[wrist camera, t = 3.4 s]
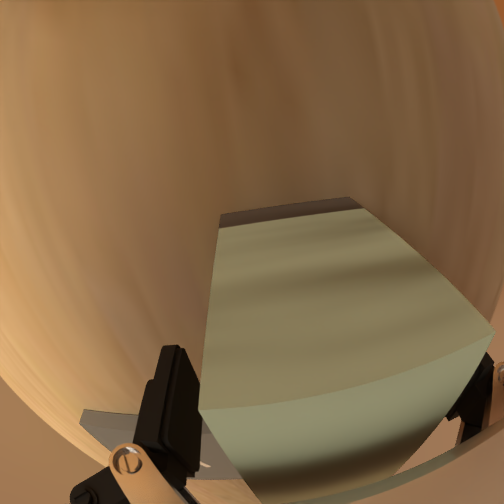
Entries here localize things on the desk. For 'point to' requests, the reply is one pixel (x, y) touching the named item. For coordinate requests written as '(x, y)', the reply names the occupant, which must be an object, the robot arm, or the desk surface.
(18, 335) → the desk surface
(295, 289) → the block
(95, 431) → the board
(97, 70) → the desk surface
